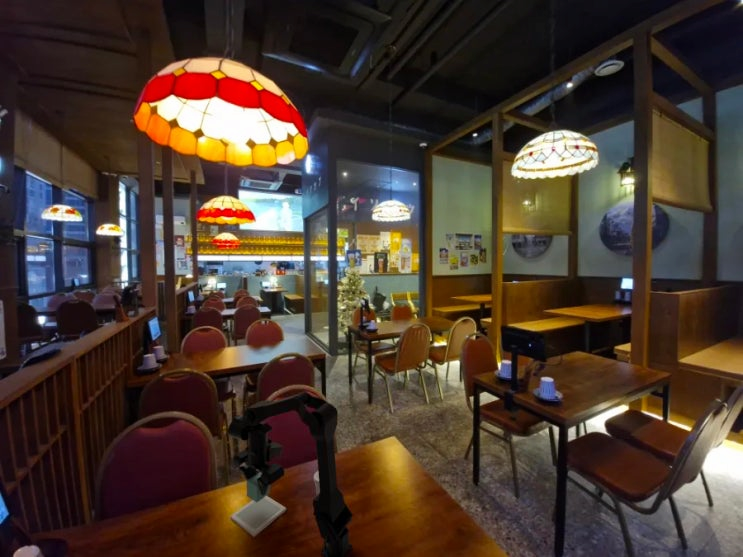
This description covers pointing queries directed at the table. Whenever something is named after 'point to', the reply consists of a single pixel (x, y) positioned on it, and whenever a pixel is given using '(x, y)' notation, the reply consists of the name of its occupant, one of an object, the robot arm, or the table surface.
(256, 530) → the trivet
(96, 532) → the table surface
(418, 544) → the table surface
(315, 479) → the smoothie
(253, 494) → the cube
